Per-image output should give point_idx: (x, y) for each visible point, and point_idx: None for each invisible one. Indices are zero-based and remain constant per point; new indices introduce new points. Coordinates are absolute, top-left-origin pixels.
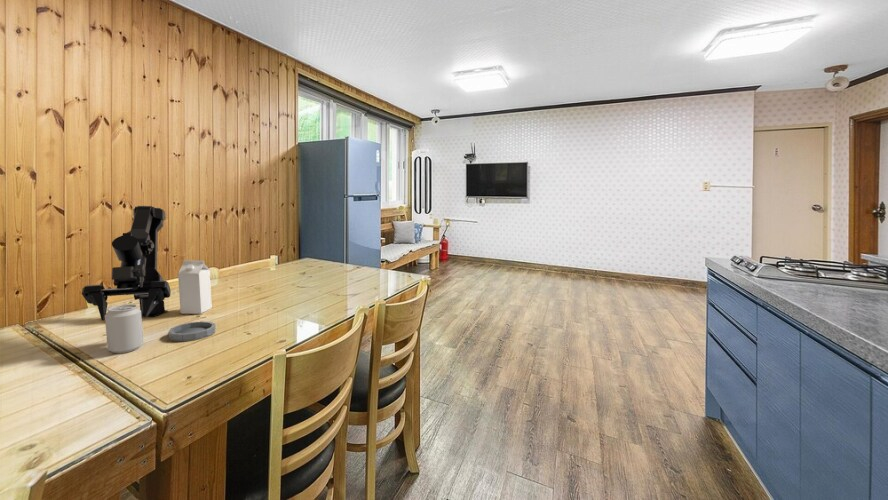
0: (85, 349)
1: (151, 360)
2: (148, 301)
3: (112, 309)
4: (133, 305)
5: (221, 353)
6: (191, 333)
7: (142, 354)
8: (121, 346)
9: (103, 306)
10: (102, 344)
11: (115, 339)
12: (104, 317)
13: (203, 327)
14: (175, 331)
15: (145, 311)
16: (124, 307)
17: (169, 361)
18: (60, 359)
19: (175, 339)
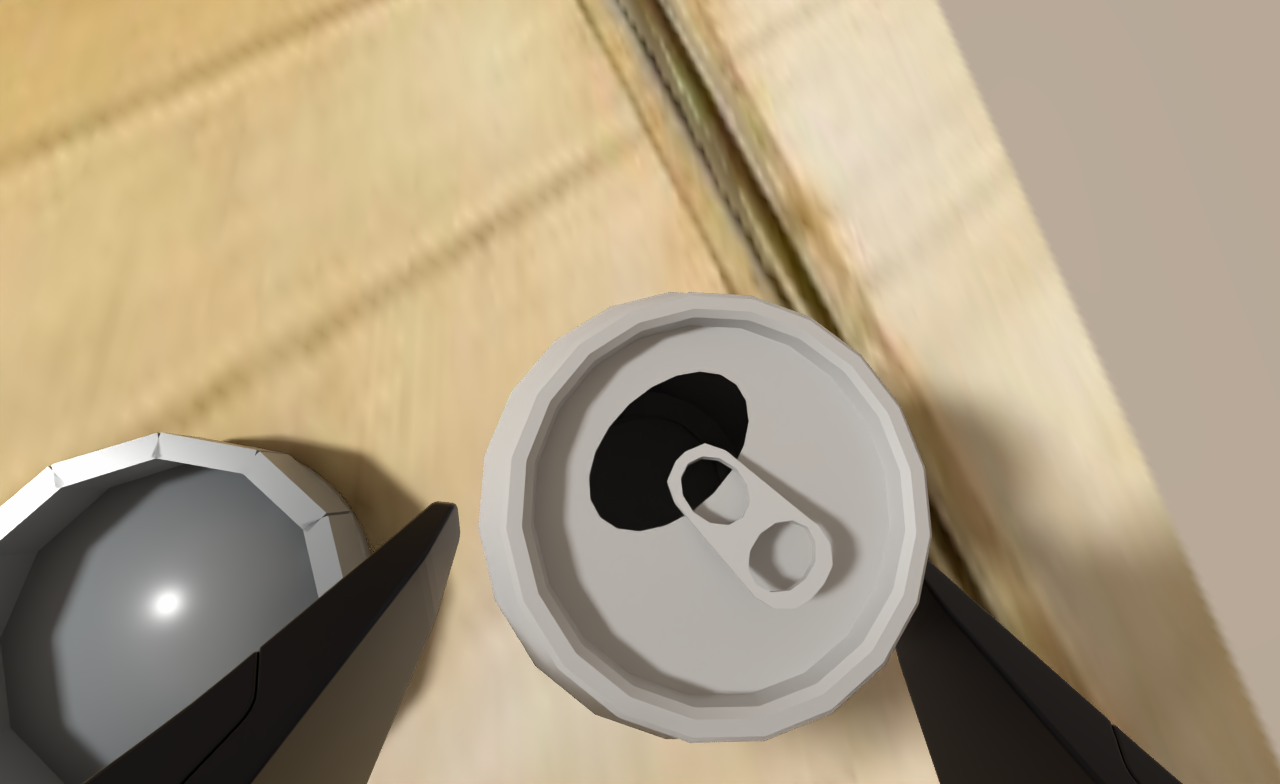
0: None
1: (498, 197)
2: (277, 699)
3: (867, 561)
4: (576, 637)
5: (126, 92)
6: (185, 445)
7: (546, 325)
8: (663, 384)
9: (1055, 745)
10: None
11: (707, 383)
12: None
13: (59, 743)
14: None
15: (428, 529)
16: (704, 530)
17: (411, 131)
18: (955, 485)
19: (336, 496)
